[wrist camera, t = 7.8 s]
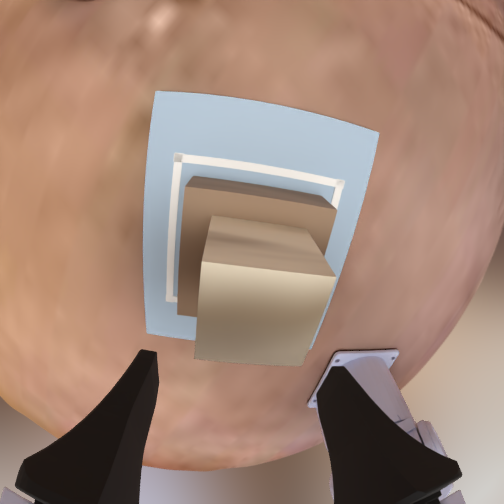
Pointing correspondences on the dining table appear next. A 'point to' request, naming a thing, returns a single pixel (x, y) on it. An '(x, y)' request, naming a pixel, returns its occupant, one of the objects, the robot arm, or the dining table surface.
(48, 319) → the dining table surface
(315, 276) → the maple cube
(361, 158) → the blueprint board
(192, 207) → the walnut base block
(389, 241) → the dining table surface
